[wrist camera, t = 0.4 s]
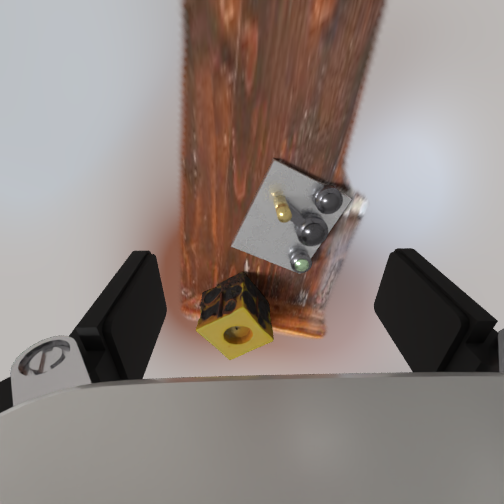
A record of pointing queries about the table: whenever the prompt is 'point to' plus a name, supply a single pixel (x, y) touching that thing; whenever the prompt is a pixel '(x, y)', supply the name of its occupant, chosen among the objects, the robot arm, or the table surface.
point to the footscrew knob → (302, 223)
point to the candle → (235, 317)
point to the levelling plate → (283, 234)
